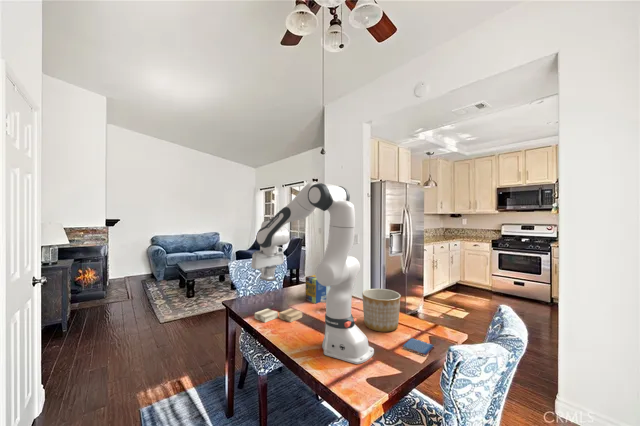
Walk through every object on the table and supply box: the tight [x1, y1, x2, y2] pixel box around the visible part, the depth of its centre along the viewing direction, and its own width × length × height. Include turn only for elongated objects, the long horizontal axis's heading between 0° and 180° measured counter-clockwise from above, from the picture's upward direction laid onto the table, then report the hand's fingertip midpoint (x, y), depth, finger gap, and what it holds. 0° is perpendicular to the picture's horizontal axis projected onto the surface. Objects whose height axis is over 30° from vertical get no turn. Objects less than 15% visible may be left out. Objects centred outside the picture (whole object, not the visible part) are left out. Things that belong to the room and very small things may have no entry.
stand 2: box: [278, 307, 303, 323], centre depth 151 cm, size 9×9×3 cm
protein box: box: [305, 274, 331, 305], centre depth 182 cm, size 10×15×16 cm
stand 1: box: [254, 308, 279, 323], centre depth 151 cm, size 9×9×3 cm
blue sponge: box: [401, 337, 435, 357], centre depth 118 cm, size 10×11×2 cm
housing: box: [259, 265, 277, 282], centre depth 151 cm, size 8×5×8 cm, turn 50°
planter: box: [361, 288, 402, 333], centre depth 141 cm, size 19×19×16 cm
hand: (268, 274), depth 151 cm, fingers closed on housing, 5 cm apart
